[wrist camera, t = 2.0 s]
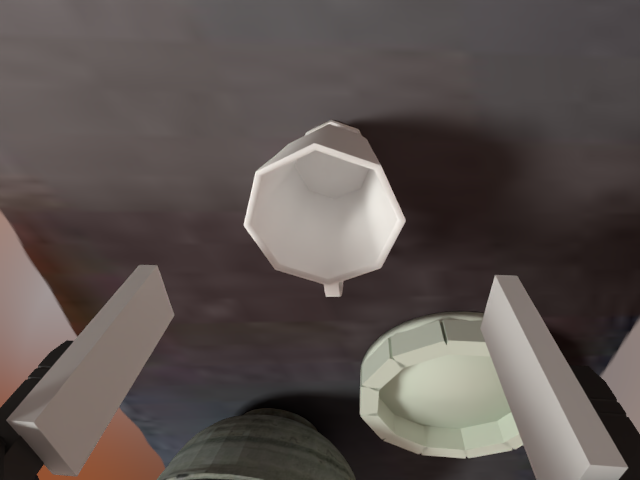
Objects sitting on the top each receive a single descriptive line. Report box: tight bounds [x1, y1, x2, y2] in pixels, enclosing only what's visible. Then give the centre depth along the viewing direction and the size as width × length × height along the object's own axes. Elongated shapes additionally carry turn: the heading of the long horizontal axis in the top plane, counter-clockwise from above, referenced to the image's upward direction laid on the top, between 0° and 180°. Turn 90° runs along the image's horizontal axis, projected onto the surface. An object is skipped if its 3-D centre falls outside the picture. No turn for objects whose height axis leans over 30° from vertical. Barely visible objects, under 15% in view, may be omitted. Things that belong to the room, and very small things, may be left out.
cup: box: [244, 120, 406, 297], centre depth 20 cm, size 7×10×8 cm
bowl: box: [157, 408, 356, 480], centre depth 36 cm, size 21×21×10 cm
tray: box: [360, 311, 523, 458], centre depth 31 cm, size 16×16×3 cm
